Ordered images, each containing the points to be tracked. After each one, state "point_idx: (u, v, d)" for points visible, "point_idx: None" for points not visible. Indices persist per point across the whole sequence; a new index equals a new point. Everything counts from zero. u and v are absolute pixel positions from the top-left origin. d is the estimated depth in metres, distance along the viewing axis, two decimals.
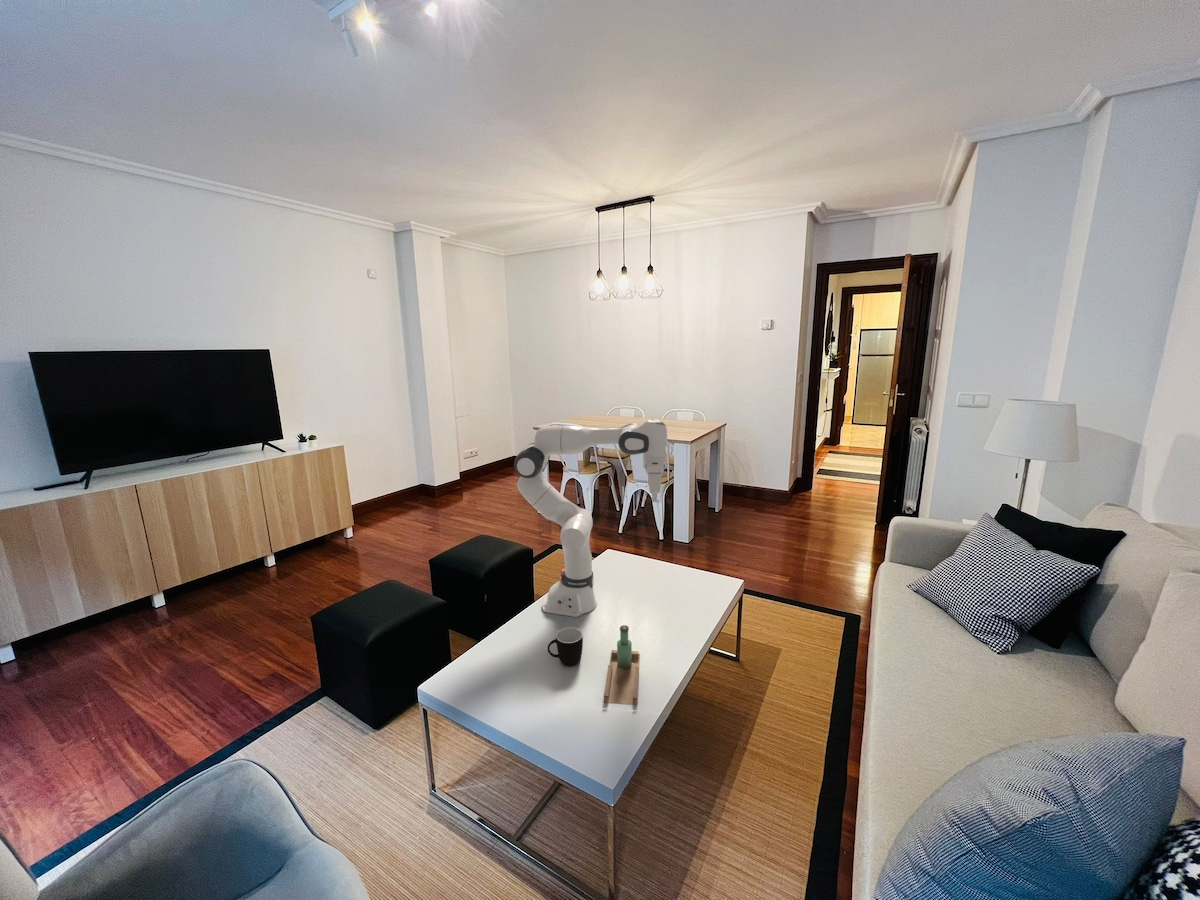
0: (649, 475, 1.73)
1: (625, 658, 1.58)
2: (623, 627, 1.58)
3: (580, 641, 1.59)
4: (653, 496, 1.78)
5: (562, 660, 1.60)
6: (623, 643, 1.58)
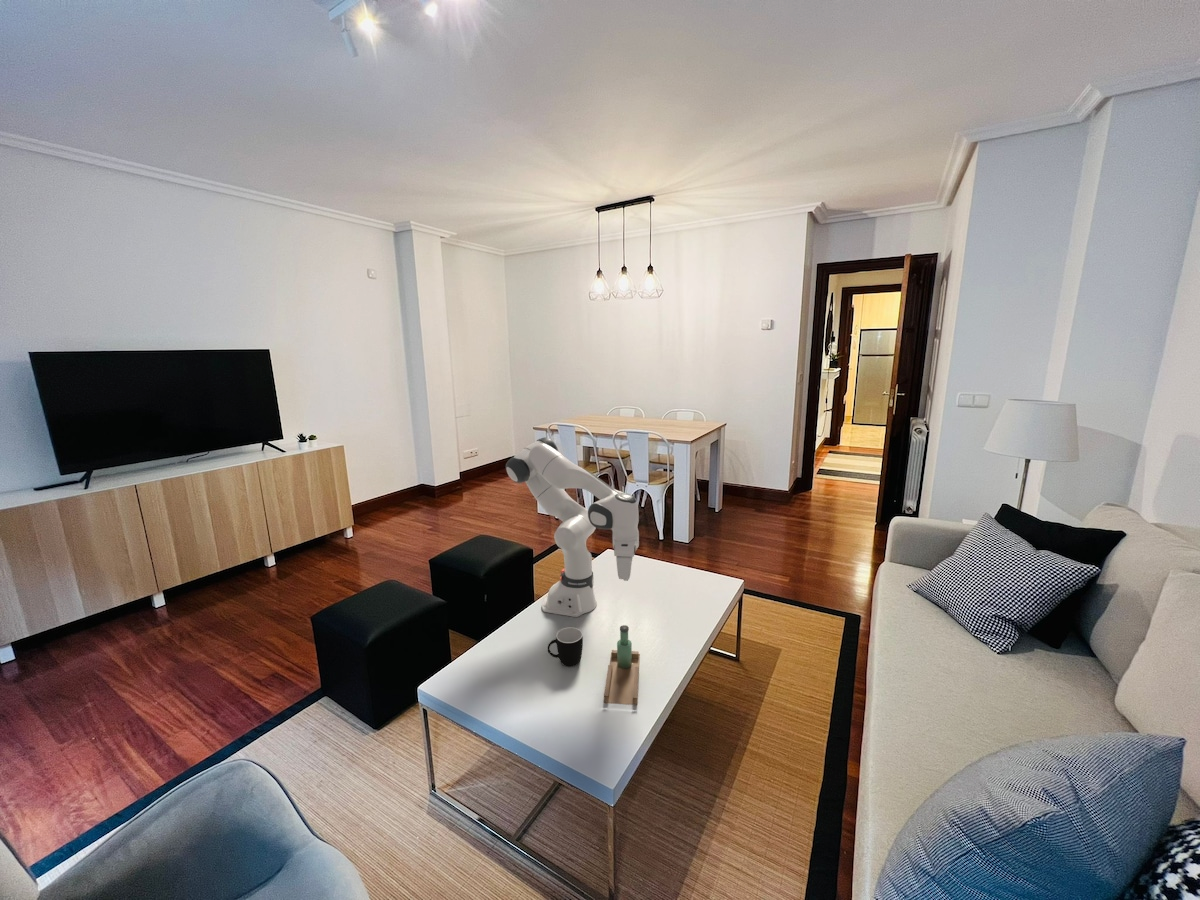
0: (617, 559, 1.54)
1: (625, 658, 1.58)
2: (623, 627, 1.58)
3: (580, 641, 1.59)
4: None
5: (562, 660, 1.60)
6: (623, 643, 1.58)
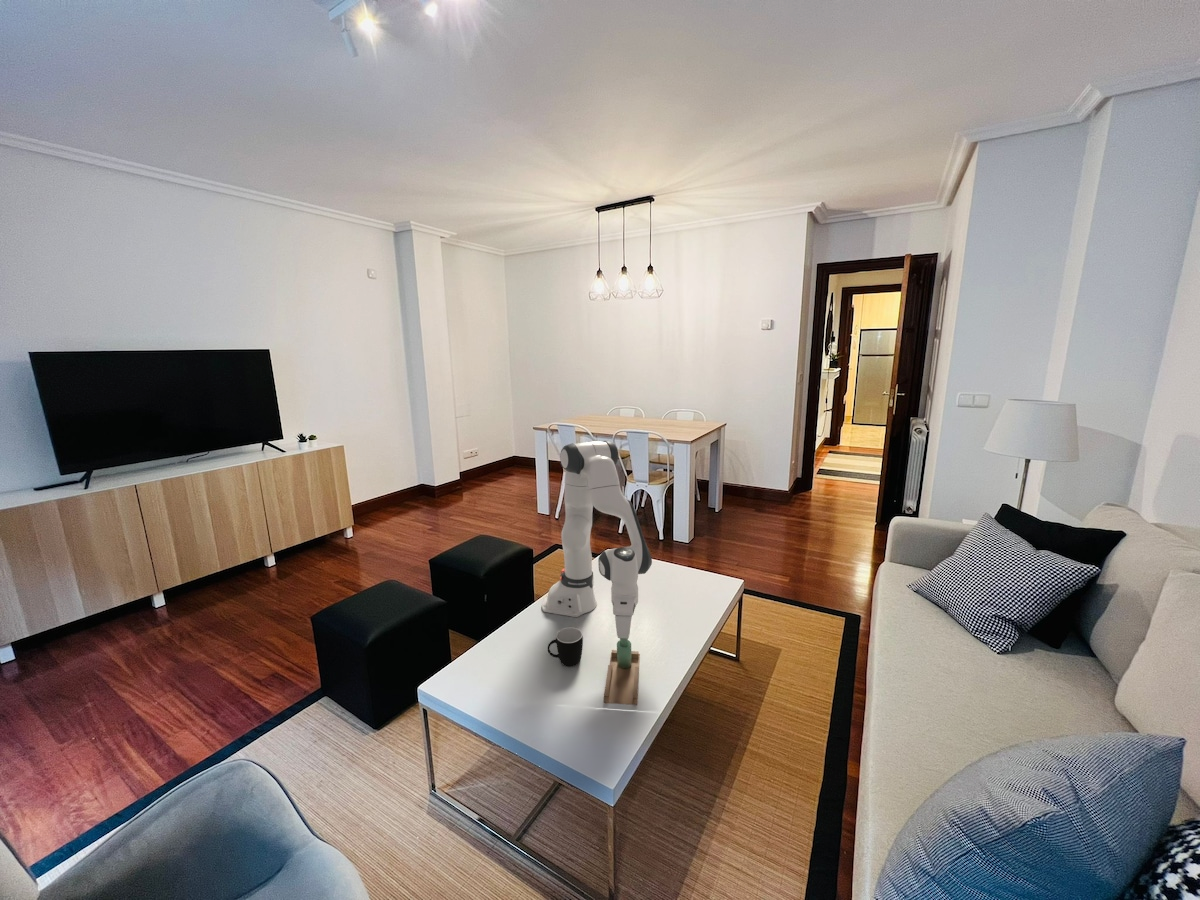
0: (616, 618, 1.50)
1: (625, 659, 1.57)
2: None
3: (580, 641, 1.59)
4: None
5: (562, 660, 1.60)
6: (623, 645, 1.57)
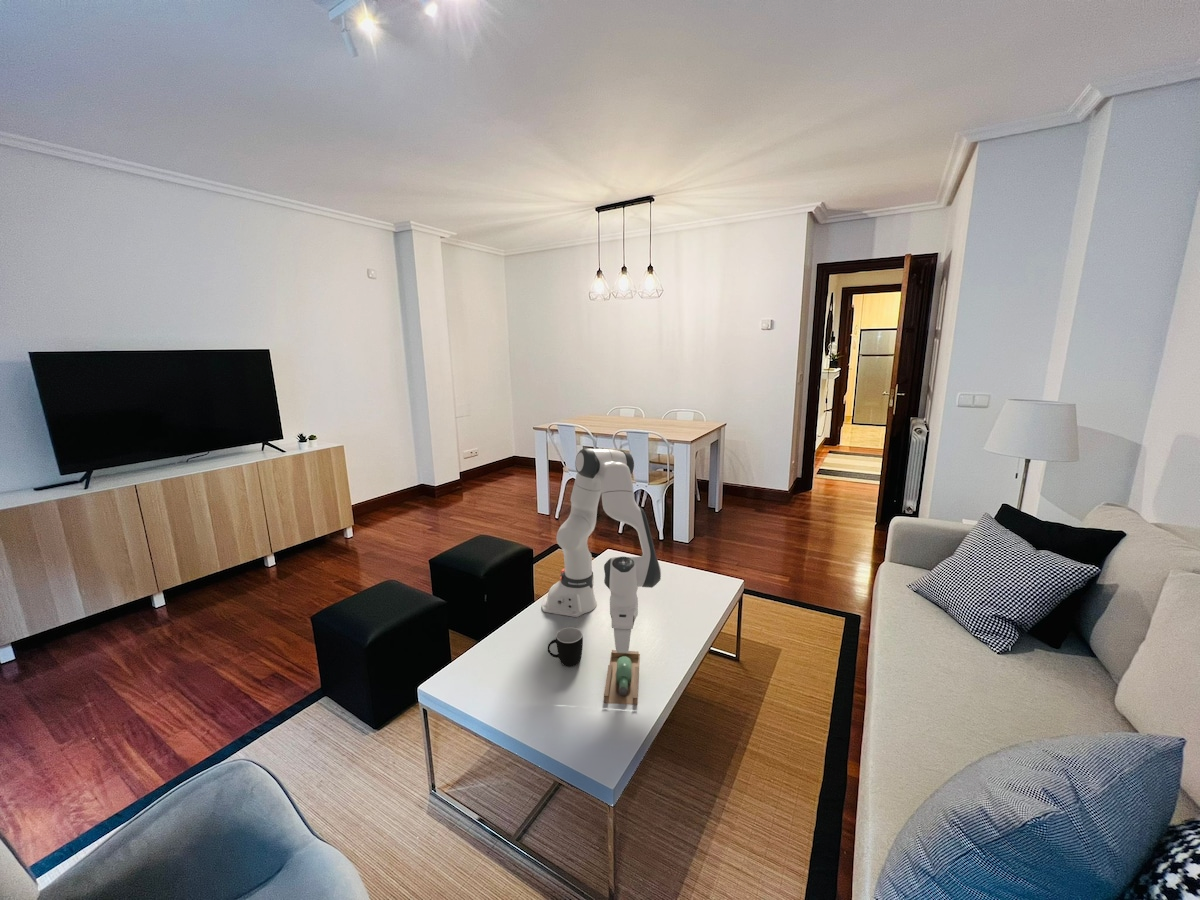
0: (615, 632, 1.43)
1: None
2: (622, 691, 1.45)
3: (580, 641, 1.59)
4: None
5: (562, 660, 1.60)
6: None
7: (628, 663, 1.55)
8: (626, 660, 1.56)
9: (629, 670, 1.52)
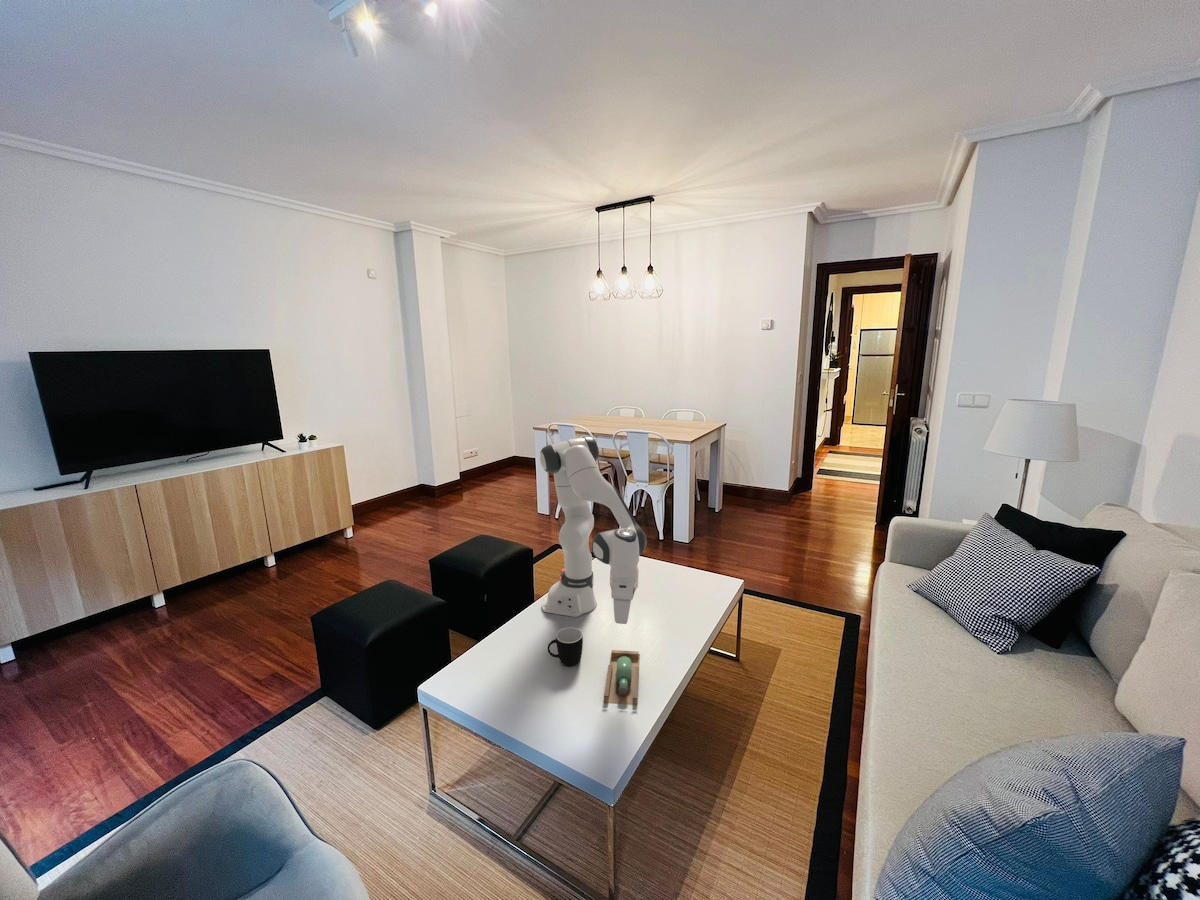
0: (615, 602, 1.42)
1: None
2: (622, 691, 1.45)
3: (580, 641, 1.59)
4: None
5: (562, 660, 1.60)
6: None
7: (628, 663, 1.55)
8: (626, 660, 1.56)
9: (629, 670, 1.52)
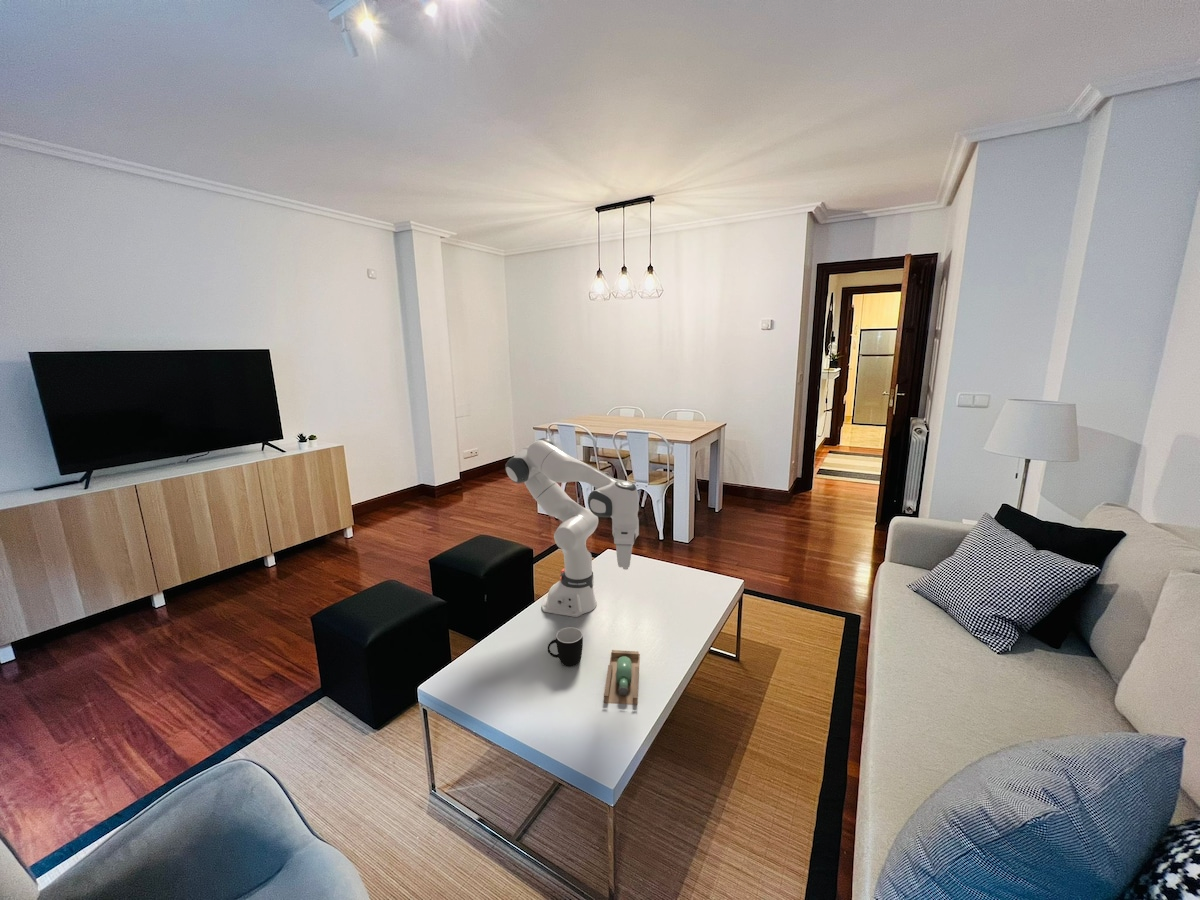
0: (617, 547, 1.52)
1: None
2: (622, 691, 1.45)
3: (580, 641, 1.59)
4: None
5: (562, 660, 1.60)
6: None
7: (628, 663, 1.55)
8: (626, 660, 1.56)
9: (629, 670, 1.52)
